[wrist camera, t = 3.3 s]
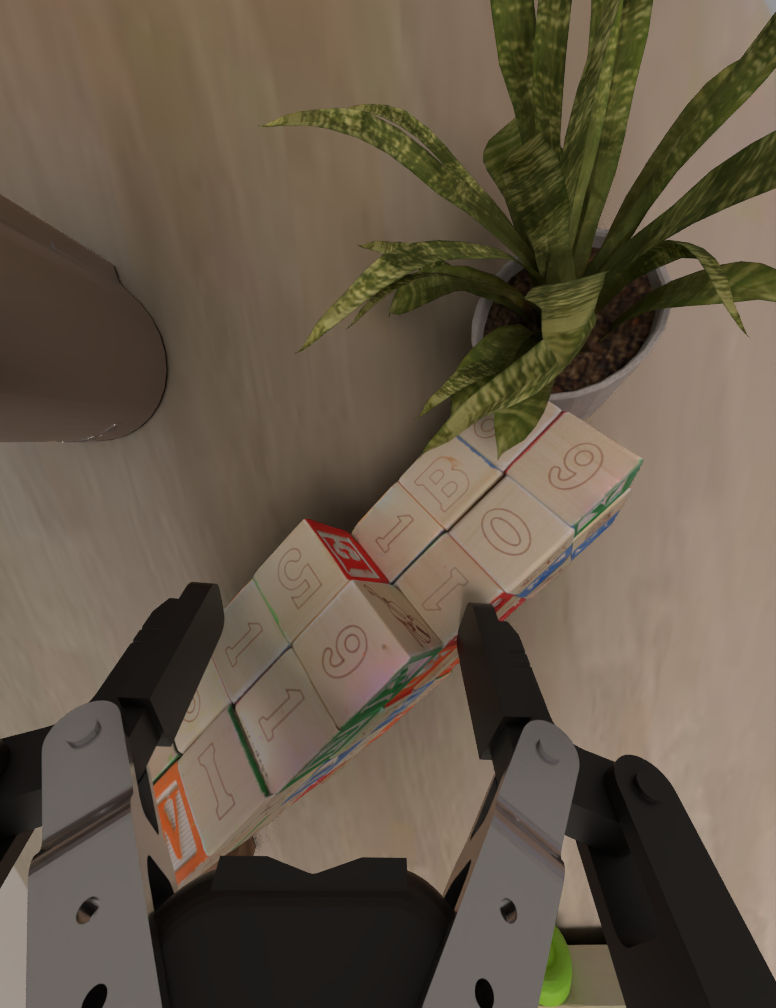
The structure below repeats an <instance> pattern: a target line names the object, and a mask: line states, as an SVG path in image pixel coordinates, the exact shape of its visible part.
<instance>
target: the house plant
mask: <svg viewBox="0 0 776 1008" xmlns="http://www.w3.org/2000/svg"><path fill="white" fill-rule="evenodd" d="M490 1H491V10H492V18H493V25H494V31H495V38H496V45H497V52H498V59H499V65H500V68H501V71H502V74H503V77H504V80H505V83H506V86H507V90H508V93H509V96H510V99H511V102H512V105H513V108H514V111H515V116H516V117H515V118H514V119H513V120H512V121H511V122H510V123H508V124H507V125H506V126H505V127H504V128H503V129H501V130H500V131H499V132H498V133H497V134H496V135H495V136H493V137H492V138H491V139H490V140H489V141H488V143H487V145H486V147H485V149H484V154H483V162H484V164H485V166H486V169H487V171H488V173H489V174H490V176H491V177H492V179H493V180H494V182H495V183H496V185H497V186H498V188H499V190H500V191H501V193H502V195H503V196H504V198H505V201H506V204H507V207H508V210H509V213H510V216H511V219H512V222H513V224H514V227H515V228H514V227H513V225H512V224H511V222H510V221H509V220H508V218H507V217H506V216H505V214H504V213H503V212H502V211H501V210H500V208H499V207H498V206H497V205H496V203H495V202H494V201H493V200H492V199H491V198H490V196H489V195H488V194H487V193H486V192H485V191H484V190H483V189H482V188H481V187H480V186H479V185H478V184H477V182H476V181H475V180H474V179H473V178H472V176H471V175H470V174H469V173H468V172H467V171H466V169H465V168H464V167H463V166H462V165H461V163H460V162H459V161H458V160H457V159H456V158H455V157H454V155H453V154H452V153H451V152H450V151H449V150H448V148H447V147H446V146H445V145H444V144H443V143H442V142H441V141H440V140H439V139H438V138H437V137H436V136H435V135H434V134H433V132H432V131H431V130H430V129H429V128H428V127H426V126H425V125H424V124H422V123H421V122H420V121H419V120H417V119H416V118H415V117H413V116H412V115H411V114H409V113H408V112H407V111H405V110H402V109H399V108H395V107H392V106H389V105H380V104H362V105H355V106H353V107H350V108H347V109H344V108H329V109H318V110H308V111H299V112H295V113H291V114H287V115H284V116H282V117H280V118H278V119H276V120H274V121H272V122H270V123H268V124H265V125H258V126H262V127H272V126H316V127H321V128H327V129H331V130H335V131H338V132H341V133H344V134H347V135H351V136H354V137H357V138H359V139H361V140H363V141H365V142H367V143H369V144H371V145H373V146H375V147H376V148H378V149H380V150H382V151H384V152H386V153H388V154H389V155H391V156H392V157H393V158H394V159H396V160H397V161H398V162H400V163H401V164H402V165H404V166H405V167H406V168H407V169H409V170H410V171H411V172H413V173H414V174H415V175H416V176H417V177H418V178H420V179H421V180H422V181H423V182H424V183H426V184H427V185H428V186H429V187H430V188H431V189H433V190H434V191H435V192H436V193H437V194H439V195H440V196H442V197H443V198H445V199H447V200H448V201H450V202H451V203H453V204H454V205H456V206H457V207H459V208H460V209H462V210H464V211H465V212H466V213H468V214H469V215H470V216H471V217H472V218H474V219H475V220H476V221H477V222H479V223H480V224H481V225H482V226H483V227H485V228H486V229H487V230H488V231H490V232H491V233H492V234H493V235H494V236H495V237H497V238H498V239H499V240H500V241H501V242H502V243H503V244H504V245H506V246H507V247H508V248H509V249H510V250H511V251H512V252H513V253H514V254H515V255H516V256H515V257H512V256H511V255H509V254H507V253H505V252H503V251H501V250H499V249H497V248H494V247H489V246H485V245H480V244H474V243H467V242H460V241H442V240H437V241H426V242H416V243H412V244H410V243H404V242H386V241H373V242H370V243H367V244H364V245H359V246H360V247H362V248H366V249H370V250H374V251H377V252H380V253H384V254H383V255H382V256H381V257H380V258H379V259H377V260H376V261H375V262H374V263H373V264H372V265H371V266H370V267H369V268H367V269H366V270H365V271H364V272H363V273H362V274H361V275H360V276H359V277H358V279H357V280H356V281H355V282H354V283H353V284H352V285H351V287H350V288H349V289H348V290H347V291H346V292H345V293H344V294H343V295H342V296H341V297H340V298H339V299H338V300H337V301H336V302H335V303H334V304H333V305H332V306H331V307H330V308H329V309H328V310H327V312H326V313H325V314H324V315H323V316H322V317H321V318H320V320H319V321H318V322H317V323H316V325H315V327H314V329H313V330H312V332H311V334H310V336H309V337H308V339H307V341H306V342H305V344H304V346H303V347H302V349H301V350H299V351H298V352H300V351H302V350H304V349H305V348H307V347H308V346H310V345H311V344H312V343H314V342H315V341H316V340H317V339H319V338H320V337H321V336H322V335H323V334H325V333H326V332H327V331H328V330H330V329H331V328H332V327H334V326H335V325H336V324H338V323H339V322H340V321H342V320H343V319H344V318H345V317H347V316H348V315H349V314H350V313H351V312H353V311H354V310H355V309H356V308H357V307H359V306H360V305H361V304H362V303H364V302H365V301H366V300H368V299H369V298H371V297H372V296H373V297H372V298H371V299H370V300H369V301H368V302H367V303H366V304H365V305H364V306H363V308H362V309H361V310H360V311H359V313H358V315H357V316H356V318H355V320H354V321H353V323H352V324H351V325H350V326H352V325H353V324H354V323H355V322H356V321H357V320H358V319H359V318H360V317H362V316H363V315H364V314H365V313H366V312H367V311H368V310H369V309H370V308H372V307H373V306H374V305H375V304H376V303H378V302H379V301H380V300H381V299H383V298H384V297H385V296H386V295H388V294H390V293H391V292H393V291H395V290H396V289H398V290H397V292H396V293H395V295H394V298H393V301H392V304H391V307H390V311H389V316H390V313H393V314H399V315H400V314H403V313H406V312H409V311H412V310H414V309H416V308H418V307H420V306H423V305H425V304H427V303H429V302H431V301H433V300H435V299H437V298H439V297H441V296H444V295H447V294H449V293H452V292H454V291H467V292H469V293H472V294H475V295H478V296H480V299H479V301H478V303H477V306H476V310H475V313H474V316H473V320H472V330H471V343H472V347H473V348H472V349H471V350H470V352H469V353H468V354H467V355H466V356H465V357H464V358H463V360H462V361H461V363H460V364H459V366H458V367H457V369H456V372H455V373H454V374H453V375H452V376H451V377H450V378H449V379H448V380H447V381H446V382H445V383H444V385H443V386H442V387H441V388H440V389H439V390H438V391H436V392H435V393H434V394H433V395H432V396H431V398H430V399H429V400H428V401H427V402H426V404H425V406H424V408H423V410H422V412H421V414H420V415H419V416H418V417H420V416H422V415H424V414H426V413H427V412H428V411H430V410H431V409H432V408H434V407H435V406H437V405H438V404H440V403H441V402H443V401H444V400H446V399H447V398H448V397H450V396H451V417H450V418H449V419H448V420H447V421H446V423H445V424H444V425H443V426H442V427H441V428H440V430H439V431H438V432H437V433H436V434H435V435H434V437H433V438H432V439H431V440H430V441H429V442H428V444H427V445H426V447H425V448H424V450H423V452H422V454H421V456H422V455H423V454H424V453H426V452H428V451H430V450H432V449H434V448H436V447H439V446H441V445H443V444H445V443H448V442H449V441H451V440H452V439H453V438H455V437H456V436H457V435H459V434H460V433H461V432H463V431H464V430H465V429H467V428H468V427H470V426H471V425H473V424H474V423H475V422H477V421H478V420H480V419H481V418H483V417H484V416H486V415H489V414H492V413H494V430H495V438H496V445H497V461H498V459H499V458H500V457H501V455H502V454H503V453H504V452H506V451H507V450H509V449H510V448H512V447H514V446H515V445H517V444H519V443H520V442H522V441H524V440H525V439H526V438H527V436H528V435H529V434H530V433H531V432H532V430H533V429H534V428H535V427H536V425H537V424H538V422H539V420H540V418H541V417H542V415H543V413H544V411H545V409H546V406H547V404H548V401H550V402H551V403H553V404H554V405H556V406H557V407H559V408H560V409H561V410H562V411H563V412H570V413H571V414H573V415H575V416H576V417H578V418H579V419H581V420H584V419H585V418H587V417H589V416H591V415H592V414H593V413H594V412H595V411H596V410H597V409H598V408H599V407H600V406H601V405H602V404H603V403H604V402H605V401H606V400H607V399H608V398H609V396H610V395H611V394H612V393H613V392H614V391H615V390H616V389H617V388H618V387H619V386H620V385H621V383H622V382H623V381H624V380H625V379H626V378H627V377H628V376H629V375H630V374H631V373H632V371H633V370H634V369H635V368H636V367H637V366H638V365H639V364H640V363H641V362H642V361H643V360H644V358H645V357H646V356H647V355H648V354H649V353H650V351H651V350H652V348H653V347H654V345H655V344H656V342H657V340H658V339H659V337H660V336H661V334H662V333H663V331H664V330H665V326H666V323H667V320H668V316H669V313H670V309H671V308H673V307H683V306H695V305H710V304H721V303H723V304H724V306H725V307H726V309H727V310H728V312H729V313H730V315H731V316H732V318H733V319H734V320H735V322H736V323H737V324H738V326H739V327H740V329H741V330H742V331H743V332H744V333H745V334H746V331H745V329H744V327H743V324H742V321H741V319H740V316H739V314H738V311H737V309H736V307H735V305H734V302H741V301H749V300H758V299H759V300H766V301H773V302H776V269H774V268H772V267H770V266H767V265H765V264H762V263H754V262H743V261H740V262H734V263H728V264H722V265H719V263H718V262H717V260H716V259H715V258H714V257H713V256H712V255H711V254H709V253H708V252H707V251H706V250H705V249H703V248H701V247H698V246H696V245H693V244H691V243H687V242H680V241H673V240H666V239H667V238H669V237H671V236H673V235H674V234H676V233H678V232H679V231H681V230H683V229H685V228H686V227H688V226H690V225H691V224H693V223H695V222H698V221H700V220H702V219H704V218H706V217H708V216H711V215H713V214H715V213H717V212H719V211H721V210H724V209H726V208H728V207H730V206H732V205H735V204H737V203H740V202H742V201H745V200H747V199H750V198H752V197H755V196H757V195H760V194H762V193H765V192H767V191H770V190H772V189H775V188H776V131H774V132H772V133H770V134H768V135H766V136H765V137H763V138H761V139H759V140H757V141H755V142H753V143H752V144H750V145H748V146H747V147H745V148H744V149H742V150H741V151H739V152H738V153H736V154H735V155H733V156H732V157H730V158H729V159H728V160H726V161H725V162H723V163H722V164H720V165H719V166H717V167H716V168H714V169H713V170H711V171H710V172H709V173H708V174H707V175H706V176H705V177H703V178H702V179H701V180H700V181H699V182H698V183H697V184H696V185H695V186H694V187H693V188H691V189H690V190H689V191H688V192H687V193H686V194H685V195H684V196H683V197H682V198H681V199H679V200H678V201H677V202H676V203H675V204H674V205H673V206H672V207H670V208H669V209H668V210H667V211H665V212H664V213H663V214H661V215H660V216H659V217H658V218H656V219H655V220H654V221H653V222H651V223H650V224H649V225H647V226H646V227H645V228H644V229H642V230H641V231H640V232H638V233H637V234H636V235H635V236H632V235H633V234H634V232H635V231H636V229H637V227H638V226H639V224H640V223H641V221H642V219H643V218H644V216H645V215H646V213H647V211H648V210H649V209H650V207H651V206H652V205H653V203H654V202H655V201H656V199H657V198H658V196H659V195H660V194H661V192H662V191H663V190H664V188H665V187H666V186H667V184H668V183H669V182H670V180H671V179H672V178H673V176H674V175H675V174H676V172H677V171H678V170H679V169H680V168H681V167H682V166H683V165H684V164H685V163H686V162H687V161H688V160H689V158H690V157H691V156H692V155H693V154H694V153H695V152H696V151H697V150H698V149H699V148H700V147H701V146H702V145H703V144H704V143H705V142H706V141H707V140H708V138H709V137H710V136H711V135H712V134H713V133H714V132H715V131H716V130H717V129H718V128H719V127H720V126H721V125H722V124H723V123H724V122H725V121H726V120H727V119H728V118H729V117H730V116H731V115H732V114H733V113H734V112H735V111H736V110H737V109H738V108H739V107H740V106H741V105H742V104H743V103H744V102H745V101H746V100H747V99H748V98H749V97H750V96H751V95H752V94H753V93H754V92H755V91H756V90H757V89H758V87H759V86H760V85H761V84H762V83H763V82H764V81H765V80H766V79H767V78H768V76H769V75H770V74H771V73H772V72H773V70H774V69H775V68H776V12H775V13H774V15H773V16H772V17H771V19H770V20H769V21H768V23H767V24H766V25H765V27H764V28H763V30H762V31H761V32H760V34H759V35H758V36H757V38H756V39H755V40H754V42H753V43H752V44H751V46H750V47H749V48H748V49H747V51H746V52H745V53H744V55H743V56H742V57H741V59H740V60H738V61H736V62H734V63H733V64H731V65H729V66H727V67H726V68H725V69H723V70H722V71H721V72H720V73H718V74H717V75H716V76H715V77H713V78H712V79H711V80H710V81H709V82H707V83H706V84H705V85H704V86H703V87H702V89H701V90H700V91H699V92H698V93H697V94H696V95H695V97H694V98H693V99H692V100H691V101H690V102H689V103H688V104H687V106H686V107H685V108H684V110H683V111H682V113H681V114H680V115H679V117H678V118H677V119H676V121H675V122H674V124H673V125H672V126H671V128H670V129H669V131H668V132H667V134H666V135H665V136H664V138H663V139H662V141H661V142H660V144H659V145H658V147H657V148H656V150H655V151H654V153H653V154H652V155H651V157H650V158H649V160H648V162H647V163H646V165H645V166H644V168H643V170H642V171H641V173H640V175H639V176H638V178H637V179H636V181H635V183H634V184H633V186H632V187H631V189H630V191H629V192H628V194H627V196H626V197H625V199H624V201H623V203H622V205H621V207H620V209H619V211H618V213H617V215H616V217H615V219H614V221H613V223H612V225H611V227H610V230H608V229H602V228H597V226H598V222H599V219H600V216H601V213H602V211H603V208H604V205H605V202H606V199H607V196H608V193H609V190H610V187H611V185H612V182H613V179H614V176H615V173H616V169H617V165H618V161H619V157H620V153H621V149H622V145H623V141H624V137H625V132H626V127H627V122H628V117H629V113H630V108H631V103H632V98H633V93H634V89H635V85H636V81H637V77H638V73H639V69H640V65H641V61H642V57H643V53H644V49H645V45H646V41H647V37H648V31H649V25H650V18H651V11H652V4H653V0H592V1H591V20H590V34H589V47H588V56H587V61H586V64H585V67H584V70H583V73H582V77H581V80H580V83H579V86H578V89H577V92H576V96H575V100H574V104H573V108H572V112H571V116H570V120H569V124H568V128H567V132H566V136H565V141H564V146H563V149H562V148H561V147H560V132H561V115H562V98H563V86H564V73H565V61H566V50H567V40H568V31H569V22H570V13H571V3H572V0H538V10H537V21H536V17H535V9H534V0H490ZM370 113H372V114H375V115H378V116H381V117H383V118H385V119H387V120H390V121H392V122H394V123H396V124H398V125H399V126H401V127H402V128H404V129H405V130H407V131H408V132H410V133H411V134H412V135H414V136H415V137H417V138H418V139H419V140H420V141H421V142H422V143H423V144H424V145H425V146H426V147H427V148H429V149H430V150H431V151H432V152H433V153H434V155H435V156H436V157H437V158H438V159H439V160H440V161H441V162H442V164H443V165H444V166H443V165H442V164H441V163H440V162H439V161H438V160H437V159H436V158H435V157H433V156H432V155H431V154H430V153H429V152H428V151H427V150H425V149H424V148H423V147H422V146H420V145H419V144H418V143H417V142H415V141H414V140H413V139H411V138H410V137H409V136H408V135H406V134H405V133H404V132H403V131H401V130H400V129H398V128H396V127H395V126H393V125H391V124H389V123H387V122H385V121H383V120H382V119H380V118H378V117H376V116H374V115H372V114H370ZM664 240H666V241H664ZM357 245H358V244H357ZM490 258H503V259H507V260H510V261H509V262H507V263H506V264H505V265H504V266H503V267H502V268H501V269H500V270H499V272H498V273H497V274H496V275H492V274H489V273H486V272H483V271H480V270H477V269H474V268H471V267H468V266H452V265H450V264H448V263H446V262H444V260H452V259H490ZM680 258H696V259H698V260H699V262H700V263H701V265H702V266H703V268H704V270H701V271H698V272H695V273H692V274H689V275H687V276H684V277H681V278H678V279H676V280H673V281H671V279H670V277H669V275H668V273H667V270H666V268H665V266H664V265H666V264H668V263H671V262H673V261H675V260H678V259H680ZM417 269H419V270H420V271H418V272H416V273H413V274H408V273H409V272H412V271H414V270H417ZM406 274H407V275H406ZM376 293H377V294H376ZM350 326H349V327H350ZM349 327H348V328H349ZM746 335H747V334H746ZM747 336H748V335H747ZM748 337H749V336H748ZM749 338H750V337H749ZM298 352H296V353H298ZM418 417H417V418H418ZM415 419H416V418H415ZM421 456H420V458H421ZM420 458H419V459H420ZM418 461H419V460H418Z"/></svg>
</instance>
